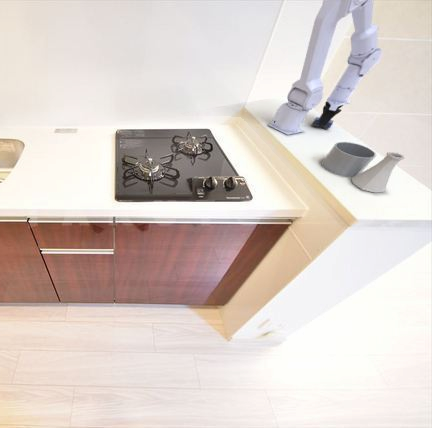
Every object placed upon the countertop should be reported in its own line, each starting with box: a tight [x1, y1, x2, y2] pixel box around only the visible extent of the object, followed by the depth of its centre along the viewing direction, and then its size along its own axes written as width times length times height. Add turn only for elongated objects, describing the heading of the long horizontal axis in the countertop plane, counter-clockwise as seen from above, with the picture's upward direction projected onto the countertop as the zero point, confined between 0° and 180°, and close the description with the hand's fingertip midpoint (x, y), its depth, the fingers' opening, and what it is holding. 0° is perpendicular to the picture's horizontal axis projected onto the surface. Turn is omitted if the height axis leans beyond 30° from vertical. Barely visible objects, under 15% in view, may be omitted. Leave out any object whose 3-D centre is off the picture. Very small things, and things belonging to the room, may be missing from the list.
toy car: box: [311, 113, 334, 131], centre depth 93 cm, size 6×4×4 cm, turn 50°
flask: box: [351, 151, 405, 193], centre depth 63 cm, size 7×7×10 cm
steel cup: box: [321, 141, 377, 178], centre depth 70 cm, size 10×10×6 cm
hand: (322, 123), depth 93 cm, fingers open, 5 cm apart
